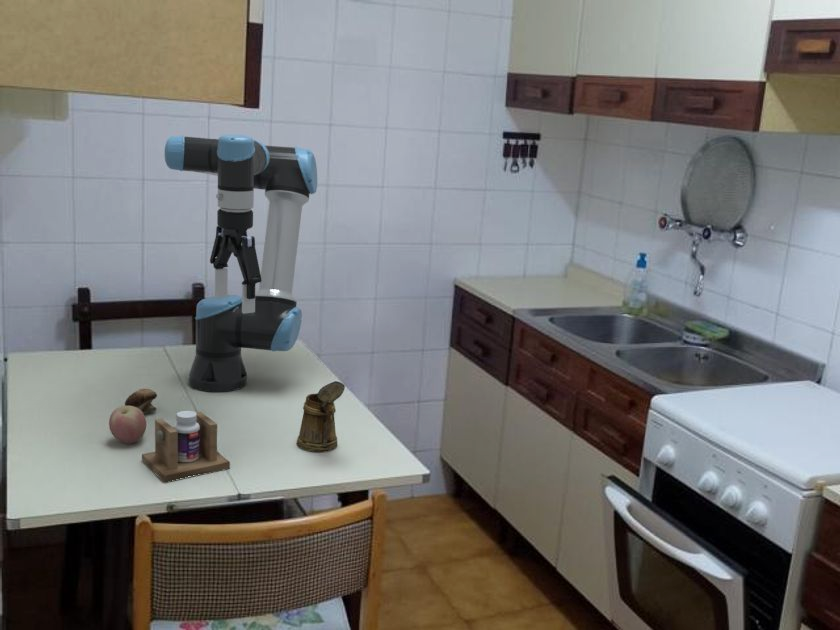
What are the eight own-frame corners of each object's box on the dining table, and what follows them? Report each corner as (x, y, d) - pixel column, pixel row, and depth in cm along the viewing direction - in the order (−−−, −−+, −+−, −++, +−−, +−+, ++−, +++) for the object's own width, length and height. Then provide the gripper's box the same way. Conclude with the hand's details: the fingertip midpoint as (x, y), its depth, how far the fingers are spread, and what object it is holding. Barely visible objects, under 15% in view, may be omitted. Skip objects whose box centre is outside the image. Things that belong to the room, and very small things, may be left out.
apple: (104, 438, 194) (103, 404, 192) (138, 432, 199) (138, 399, 197) (116, 451, 188) (116, 416, 186) (151, 445, 193) (151, 410, 191)
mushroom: (168, 401, 210) (153, 379, 209) (140, 420, 205) (124, 398, 205) (158, 407, 216) (144, 385, 216) (131, 425, 212) (116, 403, 211)
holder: (142, 460, 185) (141, 418, 182) (205, 448, 193) (205, 407, 191) (164, 482, 176) (164, 437, 173) (229, 468, 184) (230, 425, 182)
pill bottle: (192, 464, 181) (193, 420, 179) (168, 461, 182) (168, 416, 180) (204, 454, 186) (204, 411, 184) (180, 451, 187) (180, 407, 185)
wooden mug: (312, 463, 190) (315, 383, 185) (291, 439, 201) (294, 364, 197) (350, 457, 194) (355, 379, 189) (328, 435, 205) (331, 361, 201)
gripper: (194, 200, 197) (195, 292, 203) (245, 220, 178) (244, 321, 184) (226, 199, 201) (225, 289, 207) (279, 218, 182) (276, 317, 188)
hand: (234, 304), depth 195 cm, fingers open, 13 cm apart
